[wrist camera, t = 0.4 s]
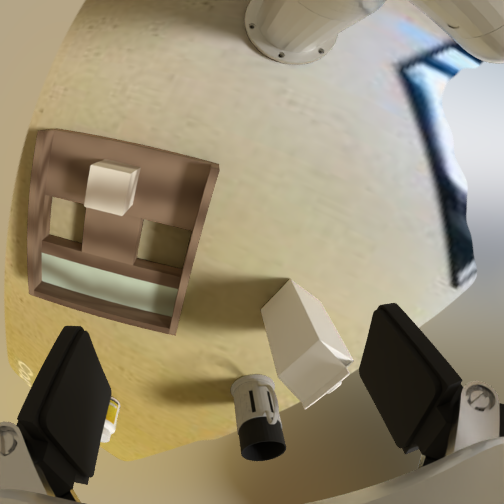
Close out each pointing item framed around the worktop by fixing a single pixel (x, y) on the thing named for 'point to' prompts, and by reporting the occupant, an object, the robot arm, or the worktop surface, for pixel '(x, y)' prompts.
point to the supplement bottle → (110, 420)
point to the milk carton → (304, 344)
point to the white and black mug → (258, 418)
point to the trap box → (114, 229)
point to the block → (111, 186)
